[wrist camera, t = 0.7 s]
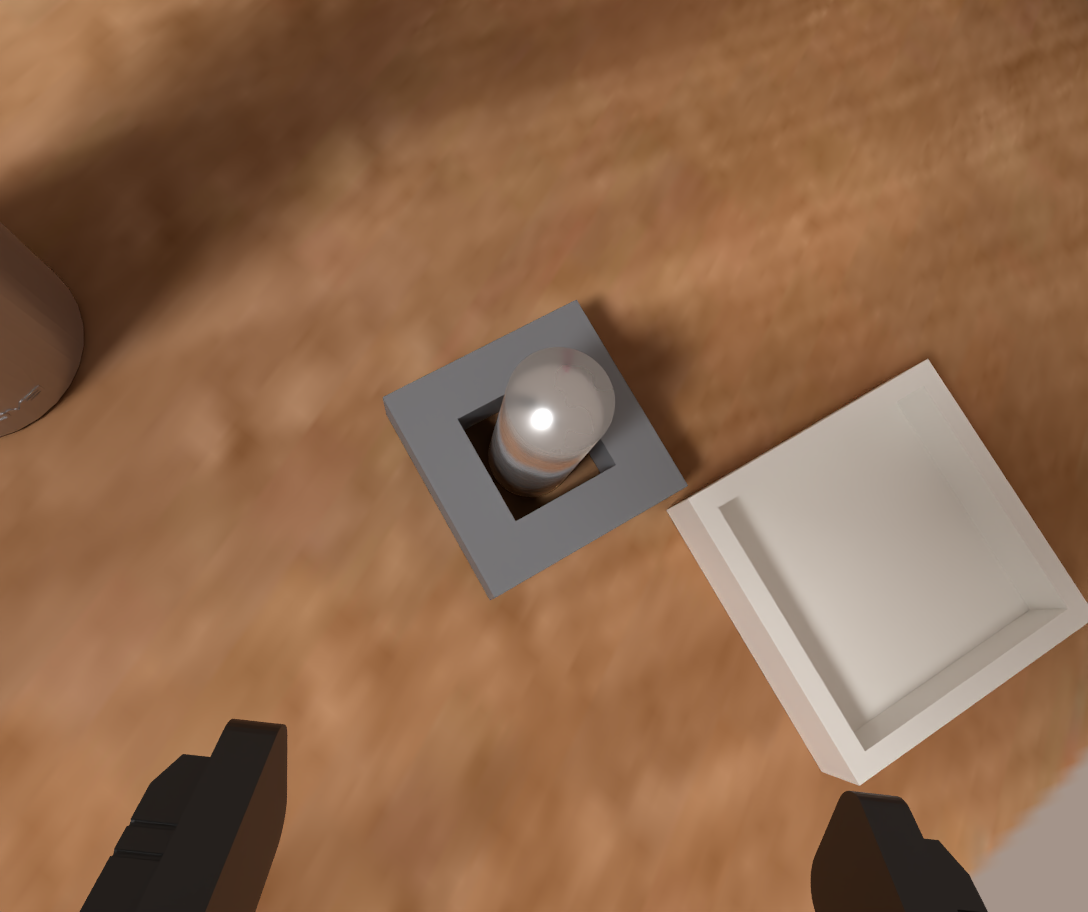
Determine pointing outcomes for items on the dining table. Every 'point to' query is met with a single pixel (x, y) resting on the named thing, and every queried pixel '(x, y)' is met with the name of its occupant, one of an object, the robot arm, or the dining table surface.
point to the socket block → (466, 487)
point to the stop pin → (549, 420)
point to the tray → (880, 572)
